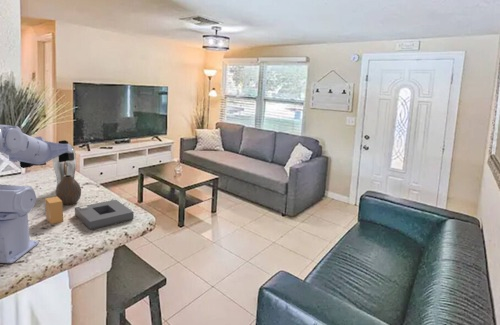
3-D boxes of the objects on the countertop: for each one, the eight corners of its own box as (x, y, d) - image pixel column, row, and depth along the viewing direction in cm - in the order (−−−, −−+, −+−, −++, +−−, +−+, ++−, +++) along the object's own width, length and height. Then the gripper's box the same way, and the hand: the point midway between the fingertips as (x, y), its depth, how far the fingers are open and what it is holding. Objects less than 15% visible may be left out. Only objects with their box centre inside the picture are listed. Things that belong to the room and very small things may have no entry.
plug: (63, 221, 91) (62, 201, 89) (51, 224, 89) (49, 203, 87) (58, 216, 94) (57, 196, 92) (46, 218, 92) (45, 198, 90)
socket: (133, 219, 95) (133, 210, 95) (90, 230, 87) (90, 220, 86) (116, 206, 104) (115, 198, 103) (75, 215, 95) (74, 206, 95)
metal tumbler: (70, 193, 111) (68, 150, 107) (50, 192, 111) (47, 149, 108) (81, 187, 118) (79, 146, 114) (62, 185, 118) (59, 145, 114)
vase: (53, 206, 100) (51, 179, 98) (60, 199, 106) (58, 173, 104) (78, 206, 102) (77, 179, 100) (83, 198, 108) (82, 173, 106)
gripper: (57, 127, 79) (83, 141, 92) (-5, 136, 78) (31, 149, 91) (59, 155, 77) (86, 165, 91) (-4, 165, 76) (32, 174, 90)
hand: (58, 159), depth 91 cm, fingers open, 7 cm apart
